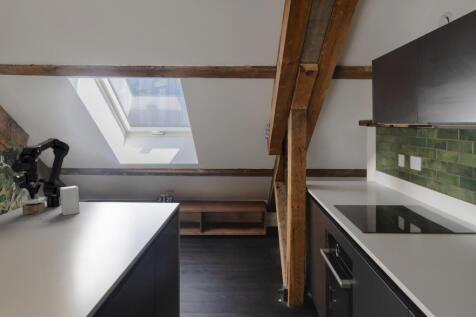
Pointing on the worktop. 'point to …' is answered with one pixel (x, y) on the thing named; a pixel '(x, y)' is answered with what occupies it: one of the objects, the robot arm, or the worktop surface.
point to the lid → (33, 201)
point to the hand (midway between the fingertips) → (33, 198)
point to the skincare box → (69, 200)
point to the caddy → (34, 208)
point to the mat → (36, 216)
